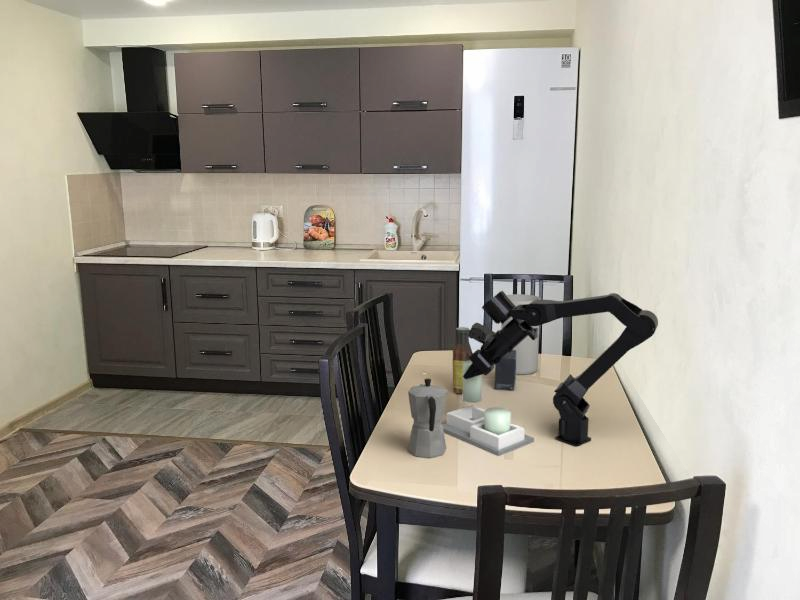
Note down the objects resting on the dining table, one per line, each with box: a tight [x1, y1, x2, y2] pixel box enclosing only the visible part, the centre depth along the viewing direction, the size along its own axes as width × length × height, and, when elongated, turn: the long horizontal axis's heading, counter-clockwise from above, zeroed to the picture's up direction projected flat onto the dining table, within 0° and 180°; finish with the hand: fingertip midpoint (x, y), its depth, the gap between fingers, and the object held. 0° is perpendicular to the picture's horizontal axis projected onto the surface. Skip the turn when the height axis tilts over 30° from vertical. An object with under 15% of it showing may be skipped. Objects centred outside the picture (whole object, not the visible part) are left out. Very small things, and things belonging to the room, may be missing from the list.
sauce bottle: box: [452, 326, 474, 395], centre depth 197 cm, size 6×6×20 cm
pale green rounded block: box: [462, 360, 483, 404], centre depth 171 cm, size 5×5×10 cm
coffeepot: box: [407, 378, 448, 459], centre depth 154 cm, size 15×9×18 cm, turn 6°
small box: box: [493, 350, 517, 391], centre depth 205 cm, size 11×6×10 cm, turn 168°
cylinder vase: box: [500, 293, 541, 376], centre depth 219 cm, size 12×12×25 cm
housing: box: [442, 405, 535, 457], centre depth 165 cm, size 21×13×8 cm, turn 40°
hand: (467, 375), depth 172 cm, fingers closed on pale green rounded block, 5 cm apart
